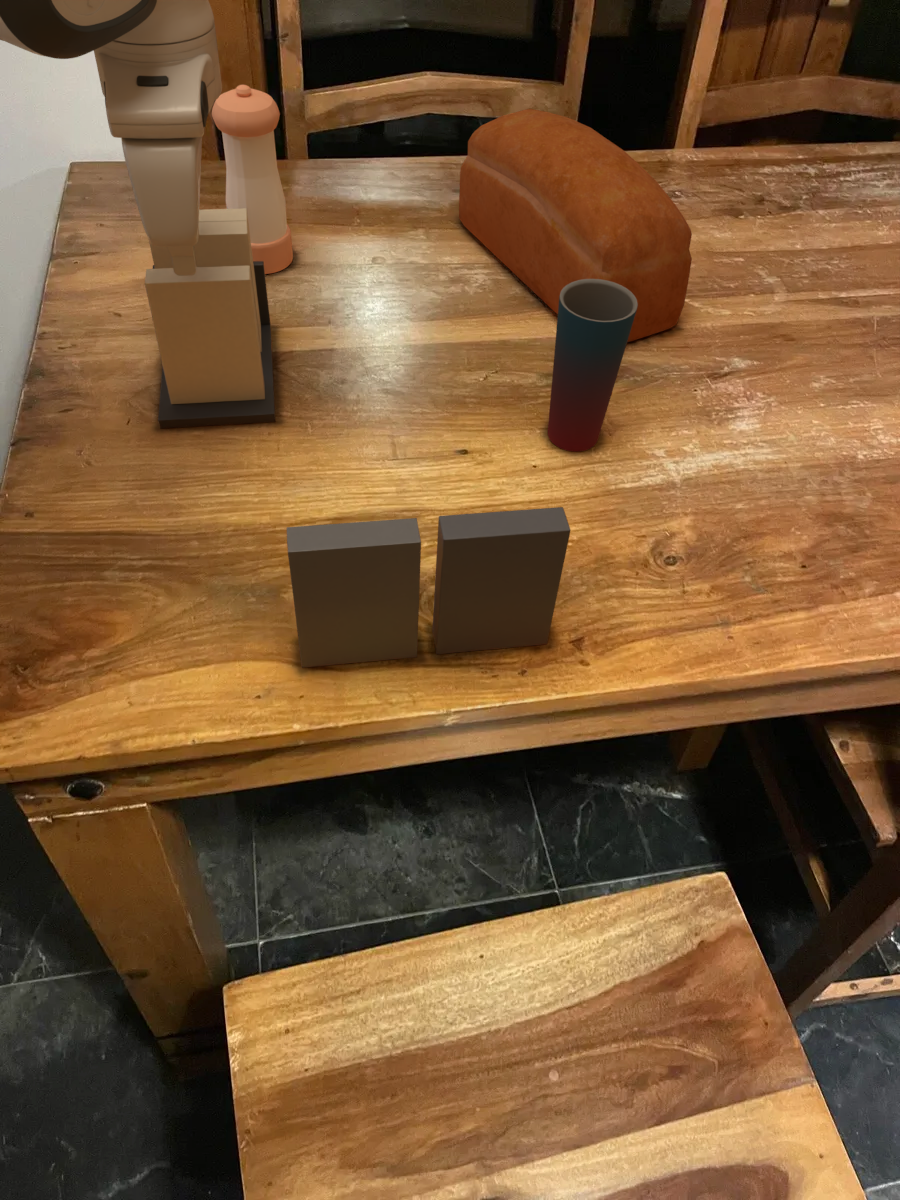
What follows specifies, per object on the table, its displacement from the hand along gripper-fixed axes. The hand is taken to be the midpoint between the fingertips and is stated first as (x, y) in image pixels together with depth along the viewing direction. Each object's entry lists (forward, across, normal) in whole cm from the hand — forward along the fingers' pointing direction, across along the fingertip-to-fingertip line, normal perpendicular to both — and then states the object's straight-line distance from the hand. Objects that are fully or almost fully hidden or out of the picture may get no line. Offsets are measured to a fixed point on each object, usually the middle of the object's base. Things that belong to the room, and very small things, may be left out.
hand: (187, 242), depth 80 cm
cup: (+17, +8, +35) cm, 40 cm away
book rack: (+17, -5, 0) cm, 18 cm away
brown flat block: (+16, 0, +1) cm, 16 cm away
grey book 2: (+17, +32, +22) cm, 43 cm away
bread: (+16, -22, +41) cm, 50 cm away
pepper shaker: (+17, -27, +5) cm, 33 cm away
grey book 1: (+17, +32, +12) cm, 38 cm away
